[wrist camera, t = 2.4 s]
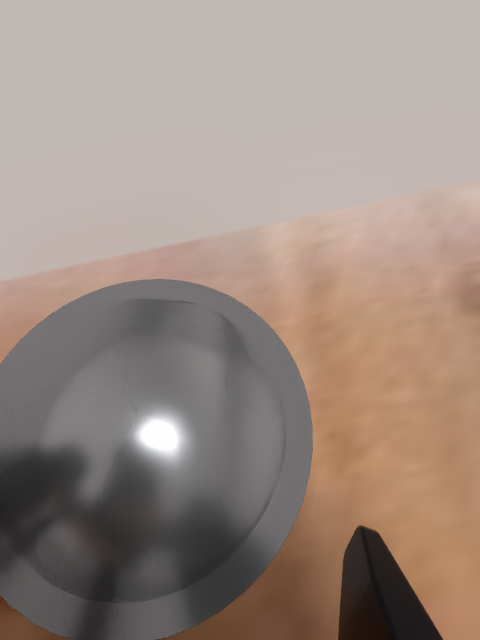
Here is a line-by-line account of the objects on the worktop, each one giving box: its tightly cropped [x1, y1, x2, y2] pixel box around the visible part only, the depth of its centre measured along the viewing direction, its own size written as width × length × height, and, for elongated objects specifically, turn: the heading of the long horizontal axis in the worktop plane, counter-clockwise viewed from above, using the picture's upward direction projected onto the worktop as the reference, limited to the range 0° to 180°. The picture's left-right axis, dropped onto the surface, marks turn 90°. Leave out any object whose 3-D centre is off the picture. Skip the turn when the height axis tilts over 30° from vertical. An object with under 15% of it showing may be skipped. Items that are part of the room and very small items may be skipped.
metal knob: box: [0, 279, 313, 640], centre depth 11 cm, size 6×6×12 cm
